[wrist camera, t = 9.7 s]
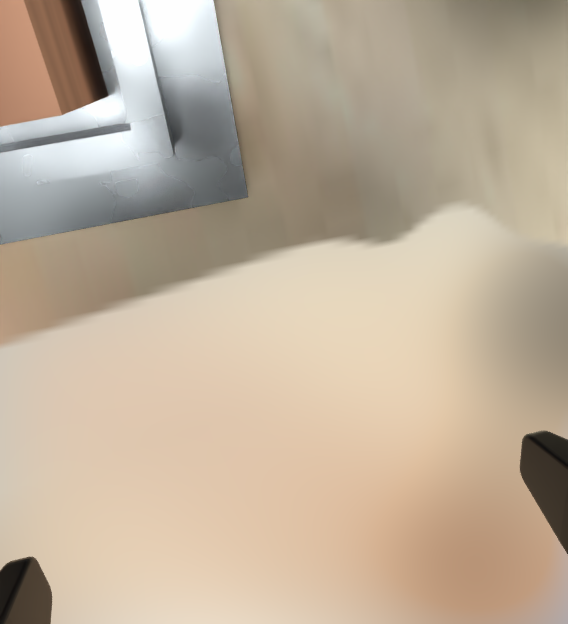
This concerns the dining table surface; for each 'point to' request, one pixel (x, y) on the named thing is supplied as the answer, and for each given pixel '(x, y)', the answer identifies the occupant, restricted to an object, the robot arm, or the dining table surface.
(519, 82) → the dining table surface
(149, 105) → the socket block
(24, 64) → the pin
